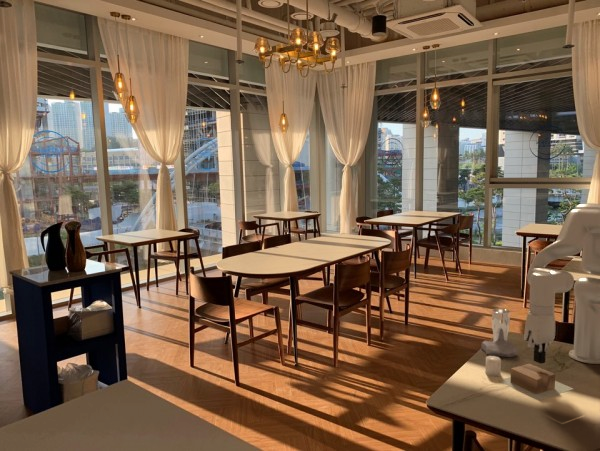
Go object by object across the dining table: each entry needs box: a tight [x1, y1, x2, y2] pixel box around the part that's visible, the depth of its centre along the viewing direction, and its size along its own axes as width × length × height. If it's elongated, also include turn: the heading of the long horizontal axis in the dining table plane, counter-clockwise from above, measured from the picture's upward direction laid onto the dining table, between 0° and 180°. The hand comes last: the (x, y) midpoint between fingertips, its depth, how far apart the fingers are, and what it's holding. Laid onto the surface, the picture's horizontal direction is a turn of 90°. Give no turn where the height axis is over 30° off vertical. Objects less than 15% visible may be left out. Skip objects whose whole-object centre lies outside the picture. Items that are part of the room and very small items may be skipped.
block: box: [510, 363, 556, 394], centre depth 159 cm, size 5×10×9 cm
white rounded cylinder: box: [484, 355, 502, 377], centre depth 169 cm, size 5×5×6 cm
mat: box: [497, 376, 574, 401], centre depth 160 cm, size 17×16×1 cm
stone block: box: [480, 339, 517, 358], centre depth 190 cm, size 12×5×10 cm
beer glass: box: [491, 308, 511, 342], centre depth 196 cm, size 7×7×15 cm
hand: (539, 361), depth 160 cm, fingers closed
